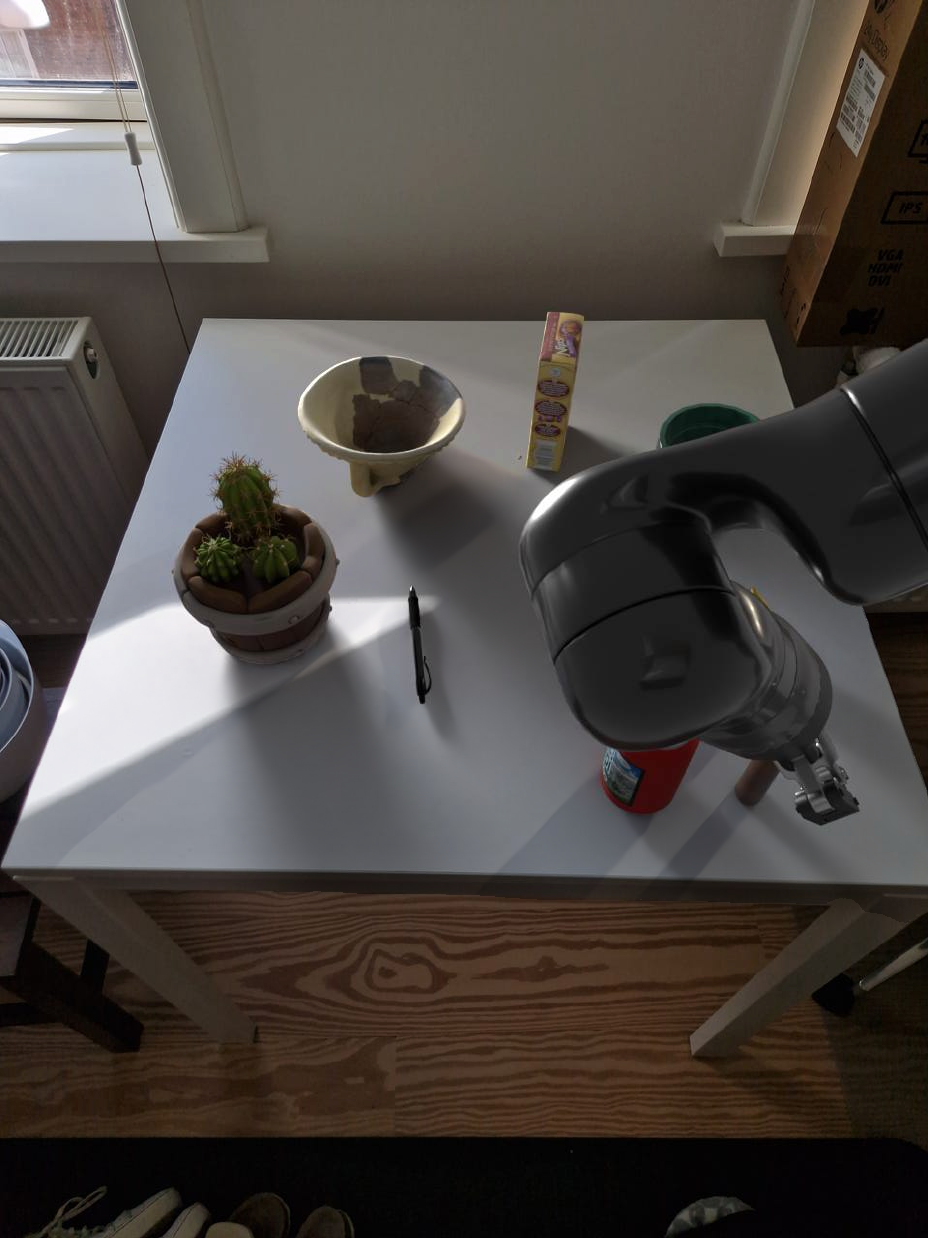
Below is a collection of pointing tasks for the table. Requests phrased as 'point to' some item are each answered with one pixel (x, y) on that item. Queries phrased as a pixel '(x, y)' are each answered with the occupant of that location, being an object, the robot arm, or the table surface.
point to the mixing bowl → (701, 422)
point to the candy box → (554, 390)
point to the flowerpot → (257, 570)
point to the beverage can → (645, 776)
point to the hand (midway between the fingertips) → (801, 721)
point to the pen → (418, 647)
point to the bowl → (381, 417)
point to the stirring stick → (755, 781)
